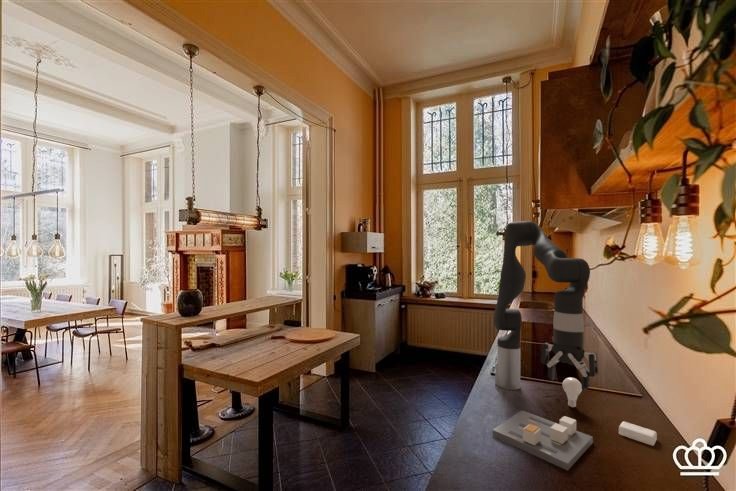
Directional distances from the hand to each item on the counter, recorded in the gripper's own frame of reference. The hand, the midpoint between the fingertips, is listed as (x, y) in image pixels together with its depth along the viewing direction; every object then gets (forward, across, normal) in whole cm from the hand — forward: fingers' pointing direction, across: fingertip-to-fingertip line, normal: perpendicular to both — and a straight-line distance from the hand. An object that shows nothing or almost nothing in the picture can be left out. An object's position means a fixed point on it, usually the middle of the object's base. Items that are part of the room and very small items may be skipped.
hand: (568, 384), depth 98 cm
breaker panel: (+21, -9, +4) cm, 24 cm away
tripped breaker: (+19, -9, -3) cm, 21 cm away
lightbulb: (+21, -12, +35) cm, 43 cm away
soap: (+22, +9, +30) cm, 38 cm away
